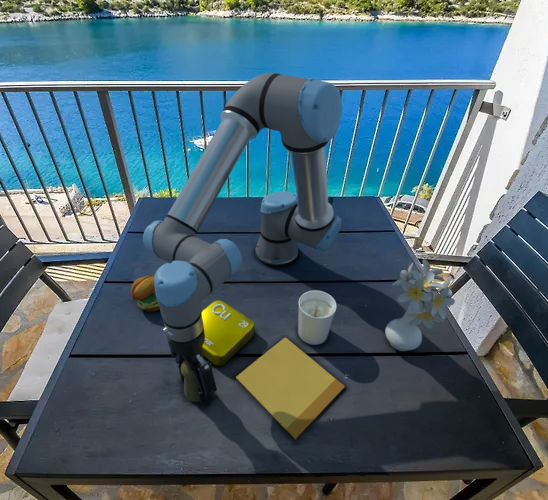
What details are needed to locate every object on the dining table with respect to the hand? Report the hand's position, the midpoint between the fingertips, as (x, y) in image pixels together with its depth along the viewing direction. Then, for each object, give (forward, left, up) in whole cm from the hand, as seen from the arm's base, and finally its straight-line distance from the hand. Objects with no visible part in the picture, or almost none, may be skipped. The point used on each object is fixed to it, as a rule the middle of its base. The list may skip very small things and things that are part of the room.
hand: (196, 389), depth 84 cm
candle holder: (-34, +8, -1) cm, 35 cm away
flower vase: (-49, +27, 0) cm, 56 cm away
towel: (-18, +14, 0) cm, 23 cm away
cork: (0, 0, -1) cm, 1 cm away
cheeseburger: (-7, -33, -1) cm, 34 cm away
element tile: (-14, -9, -1) cm, 17 cm away
